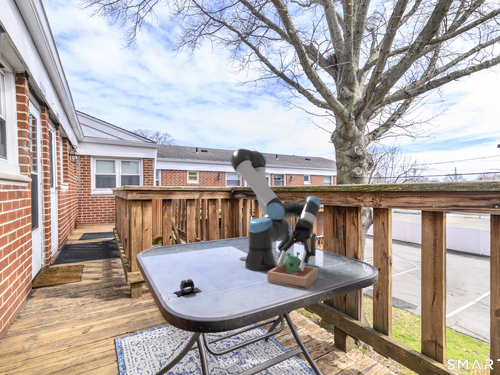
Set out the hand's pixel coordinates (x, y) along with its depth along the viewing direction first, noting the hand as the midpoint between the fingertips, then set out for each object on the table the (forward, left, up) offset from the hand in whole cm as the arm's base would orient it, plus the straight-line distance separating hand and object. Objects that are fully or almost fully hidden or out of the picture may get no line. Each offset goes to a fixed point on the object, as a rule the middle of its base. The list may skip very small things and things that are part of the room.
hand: (289, 267), depth 102 cm
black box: (-28, -29, -7) cm, 41 cm away
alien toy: (0, +3, -5) cm, 6 cm away
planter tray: (0, +3, -6) cm, 7 cm away
